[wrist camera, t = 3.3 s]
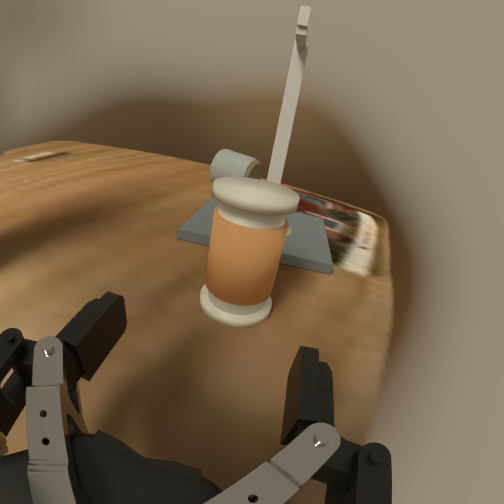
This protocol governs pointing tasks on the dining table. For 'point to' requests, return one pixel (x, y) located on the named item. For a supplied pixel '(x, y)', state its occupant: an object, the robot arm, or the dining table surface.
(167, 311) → the dining table surface
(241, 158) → the ceramic mug
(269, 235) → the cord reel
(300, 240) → the stand
